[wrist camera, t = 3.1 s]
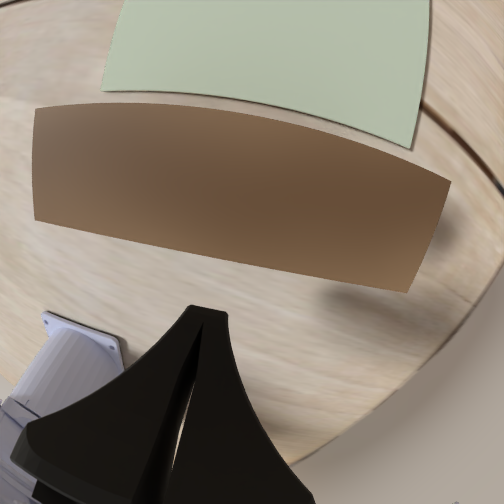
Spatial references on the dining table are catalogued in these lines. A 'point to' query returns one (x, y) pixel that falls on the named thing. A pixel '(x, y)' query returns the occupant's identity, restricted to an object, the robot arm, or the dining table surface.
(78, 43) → the dining table surface
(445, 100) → the dining table surface
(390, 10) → the mat
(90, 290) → the dining table surface
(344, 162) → the slab
